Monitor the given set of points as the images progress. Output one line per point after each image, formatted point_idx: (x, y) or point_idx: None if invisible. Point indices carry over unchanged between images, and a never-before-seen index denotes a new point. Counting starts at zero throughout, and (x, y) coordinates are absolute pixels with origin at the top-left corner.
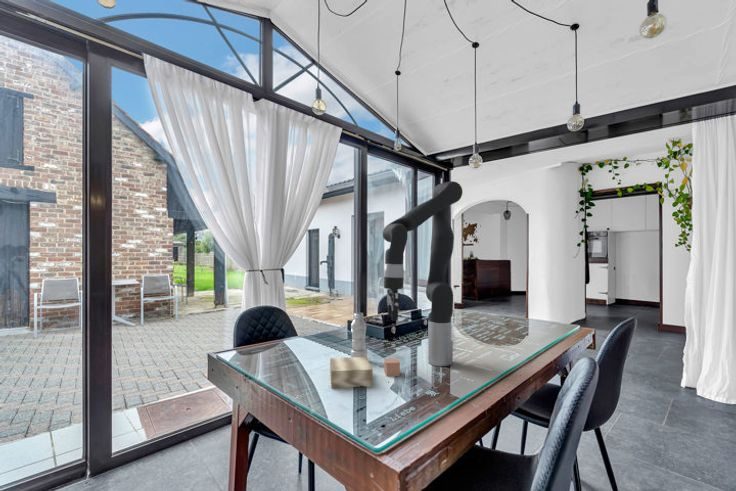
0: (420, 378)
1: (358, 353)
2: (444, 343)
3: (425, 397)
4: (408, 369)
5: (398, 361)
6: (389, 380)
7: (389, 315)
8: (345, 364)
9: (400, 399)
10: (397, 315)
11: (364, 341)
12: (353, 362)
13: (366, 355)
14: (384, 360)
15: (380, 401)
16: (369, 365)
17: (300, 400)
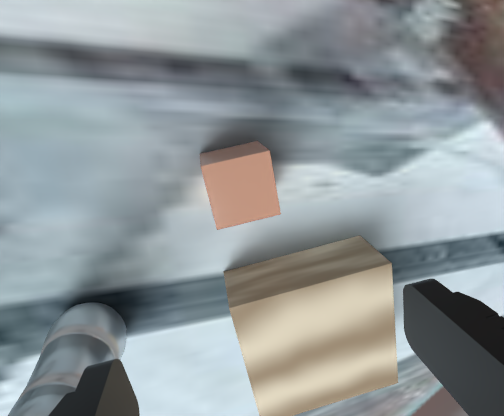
0: (284, 45)
1: (119, 349)
2: None
3: (467, 46)
4: (168, 97)
5: (254, 157)
6: (310, 181)
7: (134, 411)
8: (333, 362)
9: (468, 139)
10: (481, 322)
11: (68, 373)
12: (309, 342)
13: (88, 310)
14: (222, 225)
15: (471, 199)
16: (347, 280)
17: (436, 381)
